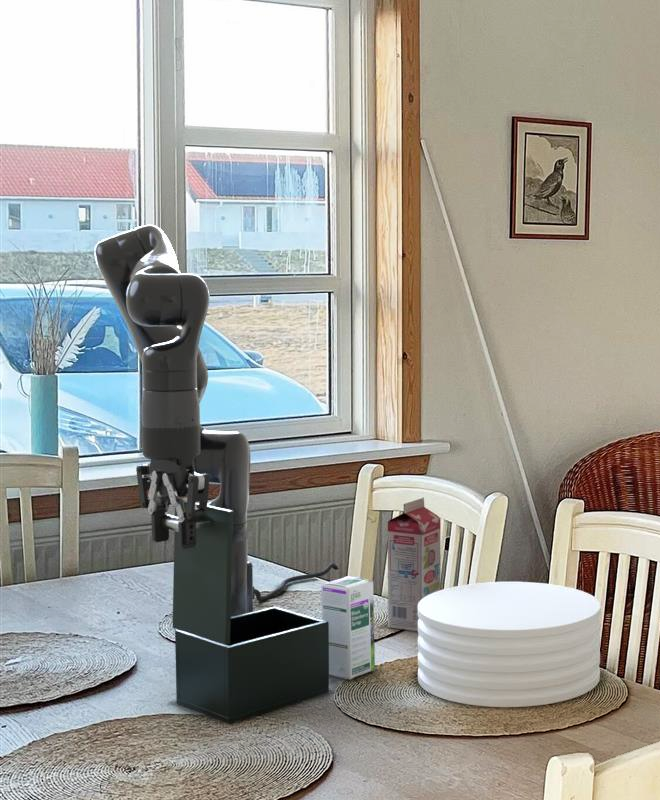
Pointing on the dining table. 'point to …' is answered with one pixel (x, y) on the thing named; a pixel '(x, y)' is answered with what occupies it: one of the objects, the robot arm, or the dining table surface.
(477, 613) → the plate stack
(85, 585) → the dining table surface
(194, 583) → the bin lid
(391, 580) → the juice carton
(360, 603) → the syrup box
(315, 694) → the bin
